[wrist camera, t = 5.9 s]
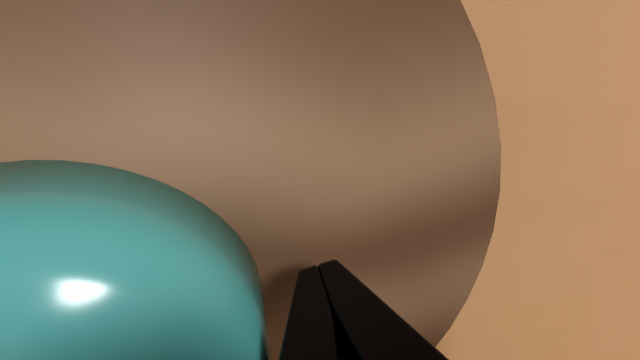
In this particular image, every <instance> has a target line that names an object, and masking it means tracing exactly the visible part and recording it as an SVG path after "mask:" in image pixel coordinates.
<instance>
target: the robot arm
mask: <svg viewBox="0 0 640 360" xmlns="http://www.w3.org/2000/svg"><path fill="white" fill-rule="evenodd" d="M344 359H345V360H449V359H447V358H446V357H445V356H444V355H443V354H442V353H441V352H440V351H438V350H437V349H436V348H435V347H434V346H433V345H432V344H431V343H429V342H428V341H427V340H426V339H425V338H424V337H423V336H422V335H421V334H419V333H418V332H417V331H416V330H415V329H414V328H413V327H412V326H410V325H409V324H408V323H407V322H406V321H405V320H404V319H403V318H402V317H400V316H399V315H398V314H397V313H396V312H395V311H394V310H393V309H391V308H390V307H389V306H388V305H387V304H386V303H385V302H384V301H382V300H381V299H380V298H379V297H378V296H377V295H376V294H375V293H374V292H372V291H371V290H370V289H369V288H368V287H367V286H366V285H365V284H363V283H362V282H361V281H360V280H359V279H358V278H357V277H356V276H355V275H353V274H352V273H351V272H350V271H349V270H348V269H347V268H346V267H344V266H343V265H342V264H341V263H340V262H339V261H337V260H335V259H333V260H330V261H326V262H323V263H320V264H319V265H318V266H317V265H313V266H310V267H306V268H303V269H300V270H299V272H298V276H297V280H296V284H295V289H294V293H293V298H292V302H291V307H290V311H289V315H288V320H287V324H286V329H285V333H284V338H283V342H282V346H281V351H280V355H279V360H344Z"/></svg>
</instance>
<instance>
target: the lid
mask: <svg viewBox="0 0 640 360" xmlns="http://www.w3.org/2000/svg"><path fill="white" fill-rule="evenodd" d="M0 360H271V354H270V347H269V339H268V331H267V324H266V316H265V308H264V301H263V293H262V285H261V278H260V275H259V272H258V269H257V265H256V263H255V261H254V259H253V257H252V255H251V253H250V251H249V249H248V247H247V246H246V245H245V243H244V242H243V241H242V239H241V238H240V237H239V235H238V234H237V232H236V231H235V230H233V229H232V228H231V227H230V226H229V225H228V224H227V223H226V222H225V221H224V220H223V219H222V218H221V217H220V216H219V215H217V214H216V213H215V212H214V211H212V210H211V209H210V208H208V207H207V206H206V205H204V204H203V203H201V202H200V201H198V200H196V199H194V198H193V197H191V196H189V195H188V194H186V193H184V192H182V191H181V190H178V189H176V188H174V187H171V186H169V185H167V184H165V183H162V182H160V181H158V180H156V179H152V178H149V177H146V176H143V175H140V174H137V173H134V172H130V171H127V170H123V169H118V168H113V167H109V166H104V165H99V164H93V163H84V162H74V161H65V160H22V161H12V162H1V163H0Z"/></svg>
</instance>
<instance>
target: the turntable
mask: <svg viewBox="0 0 640 360" xmlns="http://www.w3.org/2000/svg"><path fill="white" fill-rule="evenodd" d="M22 160H65V161H74V162H84V163H93V164H99V165H104V166H109V167H113V168H118V169H123V170H127V171H130V172H134V173H137V174H140V175H143V176H146V177H149V178H152V179H156V180H158V181H160V182H162V183H165V184H167V185H169V186H171V187H174V188H176V189H178V190H181V191H182V192H184V193H186V194H188V195H189V196H191V197H193V198H194V199H196V200H198V201H200V202H201V203H203V204H204V205H206V206H207V207H208V208H210V209H211V210H212V211H214V212H215V213H216V214H217V215H219V216H220V217H221V218H222V219H223V220H224V221H225V222H226V223H227V224H228V225H229V226H230V227H231V228H232V229H233V230H235V231H236V232H237V234H238V235H239V237H240V238H241V239H242V241H243V242H244V243H245V245H246V246H247V247H248V249H249V251H250V253H251V255H252V257H253V259H254V261H255V263H256V265H257V269H258V272H259V275H260V278H261V285H262V293H263V301H264V308H265V316H266V324H267V331H268V339H269V347H270V354H271V360H279V355H280V351H281V346H282V342H283V338H284V333H285V329H286V324H287V320H288V315H289V311H290V307H291V302H292V298H293V293H294V289H295V284H296V280H297V276H298V272H299V270H300V269H303V268H306V267H310V266H313V265H317V266H318V265H319V264H320V263H323V262H326V261H330V260H333V259H335V260H337V261H339V262H340V263H341V264H342V265H343V266H344V267H346V268H347V269H348V270H349V271H350V272H351V273H352V274H353V275H355V276H356V277H357V278H358V279H359V280H360V281H361V282H362V283H363V284H365V285H366V286H367V287H368V288H369V289H370V290H371V291H372V292H374V293H375V294H376V295H377V296H378V297H379V298H380V299H381V300H382V301H384V302H385V303H386V304H387V305H388V306H389V307H390V308H391V309H393V310H394V311H395V312H396V313H397V314H398V315H399V316H400V317H402V318H403V319H404V320H405V321H406V322H407V323H408V324H409V325H410V326H412V327H413V328H414V329H415V330H416V331H417V332H418V333H419V334H421V335H422V336H423V337H424V338H425V339H426V340H427V341H428V342H429V343H431V344H432V345H433V346H434V347H436V345H437V344H438V343H439V341H440V340H441V339H442V338H443V336H444V335H445V334H446V332H447V331H448V330H449V328H450V327H451V325H452V323H453V322H454V320H455V318H456V317H457V315H458V313H459V312H460V310H461V309H462V307H463V305H464V304H465V302H466V300H467V299H468V296H469V294H470V292H471V290H472V288H473V285H474V283H475V281H476V279H477V277H478V274H479V272H480V270H481V268H482V265H483V262H484V259H485V255H486V252H487V249H488V246H489V243H490V239H491V236H492V233H493V229H494V223H495V217H496V211H497V205H498V199H499V193H500V163H501V143H500V135H499V127H498V119H497V111H496V103H495V97H494V93H493V89H492V86H491V82H490V79H489V75H488V72H487V68H486V64H485V61H484V57H483V54H482V50H481V47H480V43H479V41H478V39H477V36H476V34H475V32H474V30H473V27H472V25H471V23H470V21H469V19H468V16H467V14H466V12H465V10H464V7H463V5H462V3H461V1H460V0H0V163H1V162H12V161H22ZM344 360H345V359H344Z"/></svg>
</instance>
